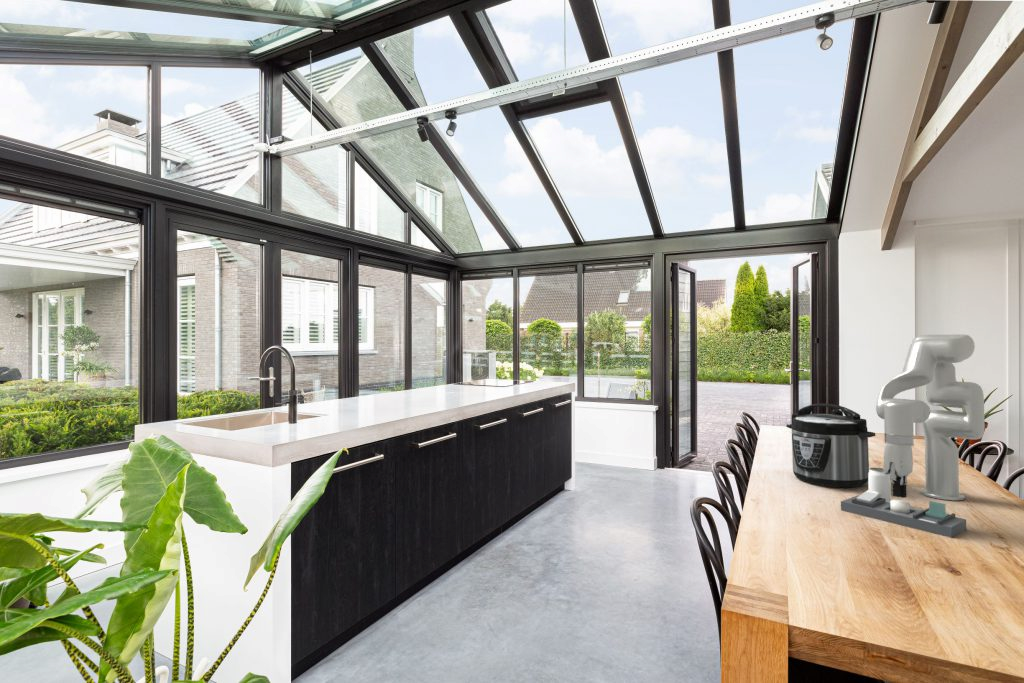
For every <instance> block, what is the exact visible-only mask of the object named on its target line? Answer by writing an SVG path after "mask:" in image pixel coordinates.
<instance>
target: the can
mask: <svg viewBox="0 0 1024 683" xmlns="http://www.w3.org/2000/svg"><path fill="white" fill-rule="evenodd" d="M891 483H892V480H890V474H884V467H883V468H882V467H869V473H868V482H867V484H868V490H870V491H875V492H879V493H881V497H879V498H884V499H886V502H890V500H892V485H891Z"/></svg>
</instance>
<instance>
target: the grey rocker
mask: <svg viewBox="0 0 1024 683" xmlns="http://www.w3.org/2000/svg"><path fill="white" fill-rule="evenodd" d="M858 496H859V497H857V498H856V499H857V500H858V501H862V502H867V503H873V502H874V501H875V500H877V499H878V498H879V497H881V493H879V492H875V491H870V490H869V489H867V490H865V491H864V492H863V493H861V494H860V495H858Z"/></svg>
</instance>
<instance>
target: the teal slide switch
mask: <svg viewBox="0 0 1024 683" xmlns="http://www.w3.org/2000/svg"><path fill="white" fill-rule="evenodd" d="M928 504H929V505H928V508H929V511H927V512H925V515H928V516H933V517H937V518H941V519H942V518H944V517H946V516H948V515H950V513H946V512H947V511H946V503H944V502H943V503H942V502H938V501H933V500H930V501H928Z"/></svg>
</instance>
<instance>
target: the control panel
mask: <svg viewBox="0 0 1024 683" xmlns="http://www.w3.org/2000/svg"><path fill="white" fill-rule="evenodd" d="M859 496H860V495H855V496H852V497H850V498H846V499H843V500H841V501H840V510H841V511H843V512H845V513H846V512H847V513H851V514H855V515H859V516H863V517H868V518H871V519H876V520H880V521H883V522H887V523H890V524H891V523H892V524H895V525H898V526H902V527H908V528H911V529H915V530H919V531H922V532H928V533H931V534H936V535H940V536H943V537H947V538H951V539H952V538H953V537H955V536H956V535H959V534H960V533H962V532H963V531H964V532H965V530H967V519H966V518H961V517H958V516H957V517H956V513H954V512H952V513H951V514H950V513H949V514H950V515H948V516H946V517H944V518H942V519H941V518H937V517H933V516H928V515H925V512H927V511H929V507H927V508H924V509H921V508H916V507H913V506H910V514H908V515H907V514H903V513H899V512H894V511H890V502H886V499H884V498H878V499H877V500H875V501H874V502H873V503H867V502H862V501H858V500H857V499H856V498H857V497H859Z"/></svg>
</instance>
